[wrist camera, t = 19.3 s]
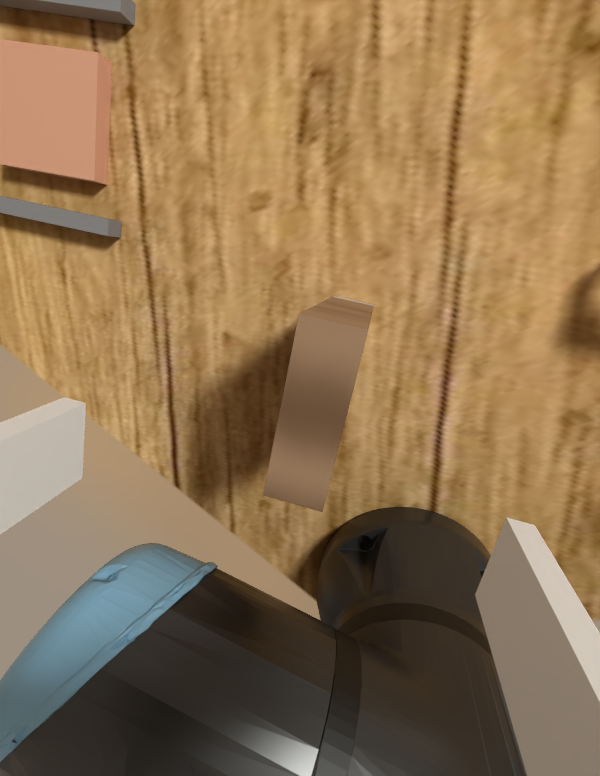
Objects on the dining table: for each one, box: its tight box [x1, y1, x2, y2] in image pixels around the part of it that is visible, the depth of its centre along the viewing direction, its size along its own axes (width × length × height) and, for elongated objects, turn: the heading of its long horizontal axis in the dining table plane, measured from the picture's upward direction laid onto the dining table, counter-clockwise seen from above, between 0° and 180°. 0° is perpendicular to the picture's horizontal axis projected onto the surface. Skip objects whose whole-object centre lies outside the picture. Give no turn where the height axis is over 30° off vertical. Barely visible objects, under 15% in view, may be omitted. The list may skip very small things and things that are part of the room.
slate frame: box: [0, 0, 135, 238], centre depth 31 cm, size 15×13×2 cm
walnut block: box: [263, 296, 374, 512], centre depth 26 cm, size 9×3×14 cm, turn 168°
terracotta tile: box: [0, 39, 112, 185], centre depth 31 cm, size 8×8×2 cm
